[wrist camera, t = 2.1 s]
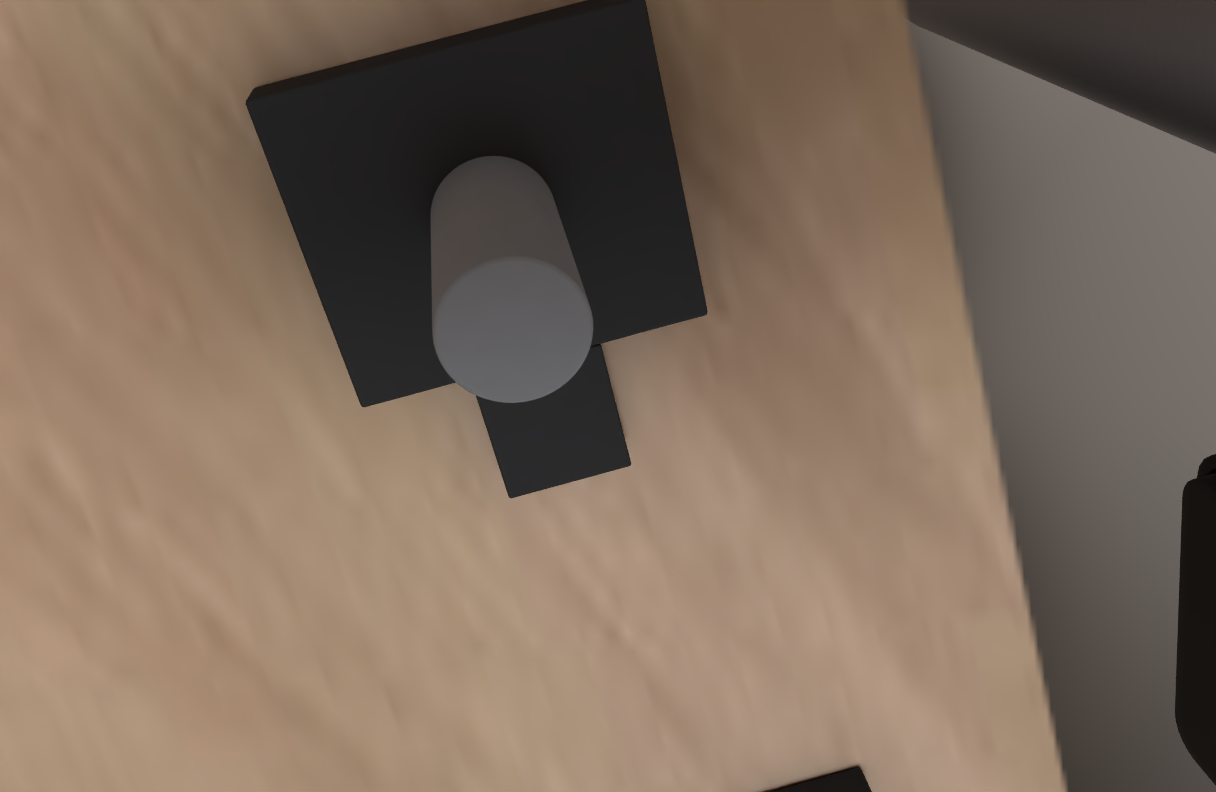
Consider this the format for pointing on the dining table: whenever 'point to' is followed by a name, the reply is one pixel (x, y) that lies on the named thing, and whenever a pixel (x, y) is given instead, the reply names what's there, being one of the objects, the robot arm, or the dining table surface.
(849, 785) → the big pad
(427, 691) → the dining table surface
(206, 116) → the dining table surface
